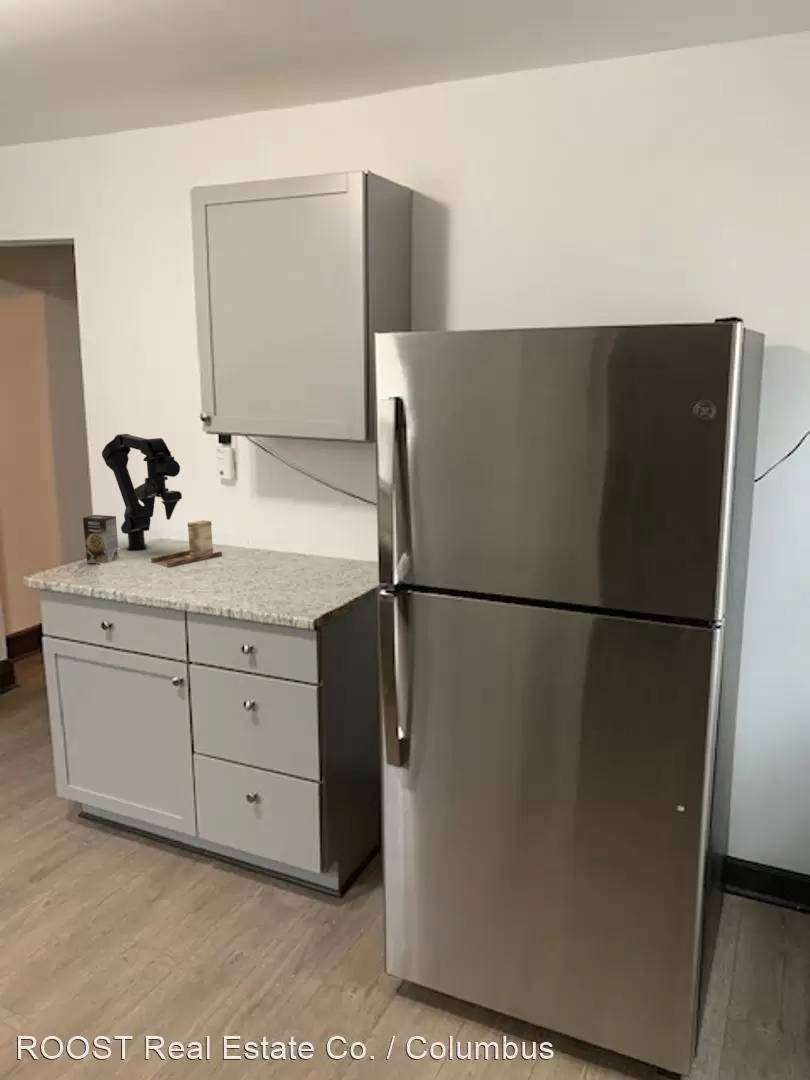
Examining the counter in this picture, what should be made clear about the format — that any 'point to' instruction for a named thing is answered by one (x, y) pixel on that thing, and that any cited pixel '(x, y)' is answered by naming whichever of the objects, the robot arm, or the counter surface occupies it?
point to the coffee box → (101, 538)
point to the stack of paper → (200, 538)
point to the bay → (182, 558)
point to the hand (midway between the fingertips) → (159, 518)
